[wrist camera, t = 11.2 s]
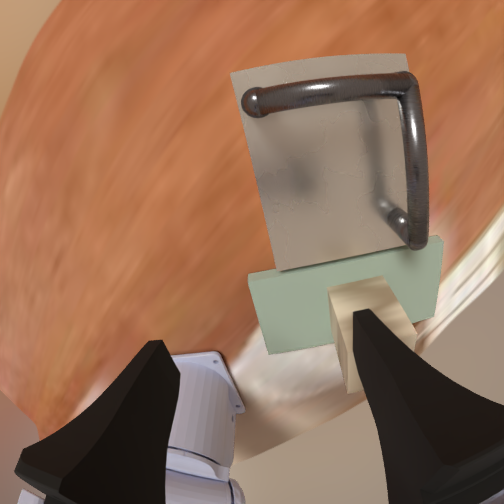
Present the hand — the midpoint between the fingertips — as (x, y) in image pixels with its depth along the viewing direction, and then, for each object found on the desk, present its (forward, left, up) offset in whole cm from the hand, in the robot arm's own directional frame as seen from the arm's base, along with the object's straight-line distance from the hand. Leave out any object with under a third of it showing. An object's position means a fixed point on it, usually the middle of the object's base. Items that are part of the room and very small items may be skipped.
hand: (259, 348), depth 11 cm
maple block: (-6, -6, -8) cm, 12 cm away
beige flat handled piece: (+4, -5, -9) cm, 11 cm away
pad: (-6, -6, -9) cm, 12 cm away
